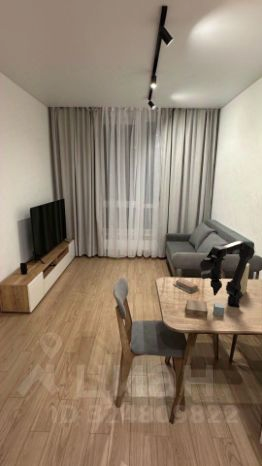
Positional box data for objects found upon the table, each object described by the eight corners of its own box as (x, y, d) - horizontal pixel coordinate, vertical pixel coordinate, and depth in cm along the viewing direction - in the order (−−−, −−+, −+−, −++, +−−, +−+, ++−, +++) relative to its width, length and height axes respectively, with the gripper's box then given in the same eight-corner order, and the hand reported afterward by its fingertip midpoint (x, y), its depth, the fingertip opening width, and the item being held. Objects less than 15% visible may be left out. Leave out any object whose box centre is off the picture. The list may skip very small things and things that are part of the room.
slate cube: (222, 311, 154) (223, 303, 153) (223, 316, 149) (224, 307, 148) (213, 310, 155) (214, 302, 154) (214, 315, 150) (215, 306, 149)
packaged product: (200, 284, 183) (190, 287, 177) (199, 290, 184) (190, 293, 178) (182, 276, 197) (172, 279, 192) (181, 282, 198) (172, 285, 193)
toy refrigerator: (236, 288, 188) (239, 261, 184) (246, 291, 184) (250, 263, 179) (232, 291, 182) (235, 264, 178) (243, 294, 177) (246, 266, 173)
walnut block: (205, 307, 159) (206, 301, 159) (207, 317, 148) (207, 311, 147) (186, 305, 162) (186, 299, 161) (186, 315, 150) (186, 308, 150)
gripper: (202, 261, 160) (200, 284, 164) (202, 272, 143) (200, 297, 146) (220, 263, 157) (218, 286, 161) (223, 274, 140) (220, 299, 143)
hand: (214, 292), depth 153 cm, fingers open, 9 cm apart
